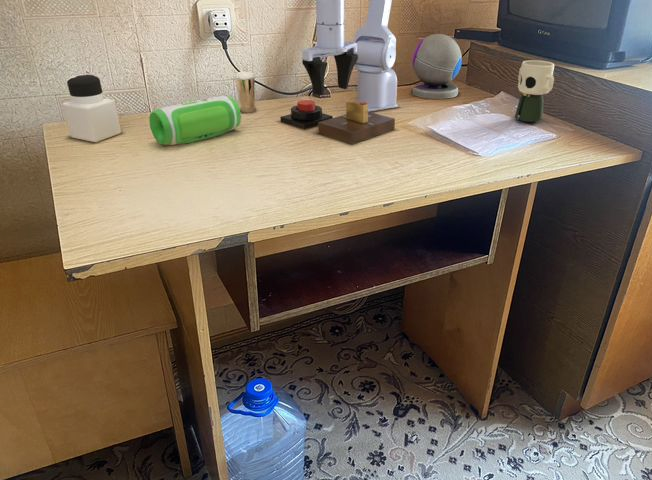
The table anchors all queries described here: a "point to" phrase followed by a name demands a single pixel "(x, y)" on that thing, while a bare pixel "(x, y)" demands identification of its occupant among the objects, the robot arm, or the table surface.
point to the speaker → (194, 120)
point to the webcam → (437, 67)
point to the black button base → (305, 117)
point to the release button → (306, 105)
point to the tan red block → (357, 111)
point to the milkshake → (246, 90)
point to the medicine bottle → (90, 110)
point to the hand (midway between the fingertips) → (331, 91)
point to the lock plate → (355, 128)
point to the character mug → (533, 88)
